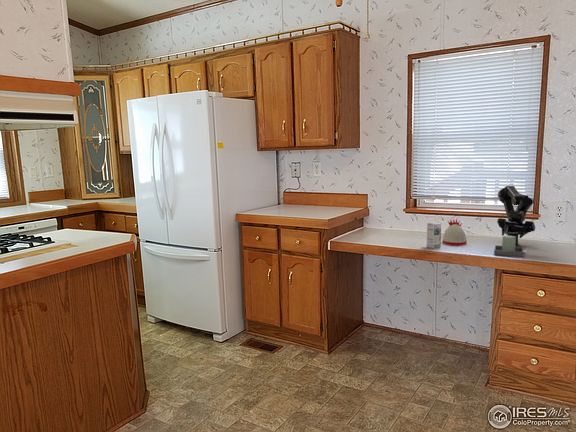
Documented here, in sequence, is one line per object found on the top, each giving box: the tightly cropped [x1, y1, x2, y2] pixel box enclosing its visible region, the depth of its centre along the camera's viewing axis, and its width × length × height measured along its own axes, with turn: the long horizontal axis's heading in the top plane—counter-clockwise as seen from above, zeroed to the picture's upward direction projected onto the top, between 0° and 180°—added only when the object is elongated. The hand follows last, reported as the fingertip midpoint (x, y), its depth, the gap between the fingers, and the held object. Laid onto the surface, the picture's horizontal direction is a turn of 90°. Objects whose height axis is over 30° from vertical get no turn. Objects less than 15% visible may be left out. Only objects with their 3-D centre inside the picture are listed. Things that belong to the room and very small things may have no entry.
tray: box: [493, 244, 524, 258], centre depth 246 cm, size 14×14×2 cm
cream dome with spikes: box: [442, 218, 468, 246], centre depth 274 cm, size 14×14×15 cm
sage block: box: [501, 234, 516, 252], centre depth 245 cm, size 5×5×9 cm
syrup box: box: [426, 221, 442, 249], centre depth 265 cm, size 6×6×14 cm
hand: (511, 236), depth 247 cm, fingers open, 9 cm apart
